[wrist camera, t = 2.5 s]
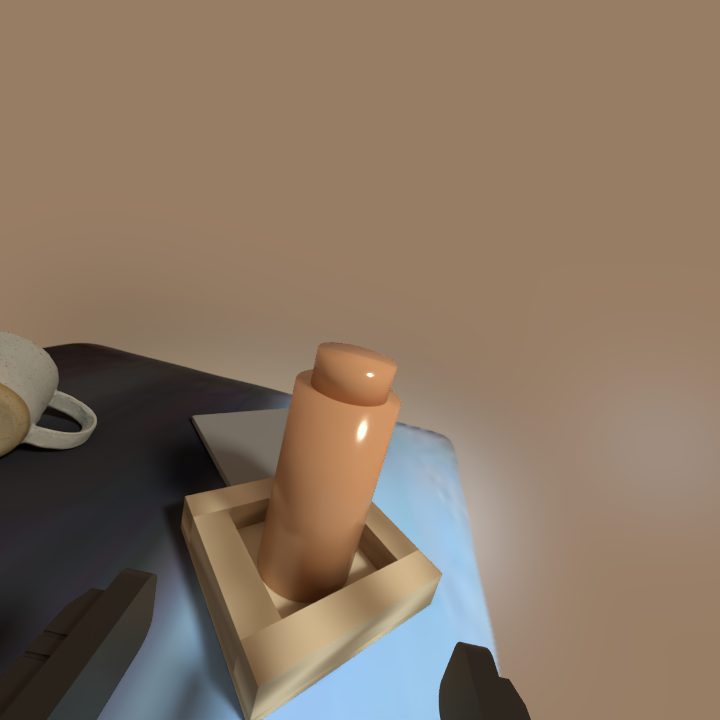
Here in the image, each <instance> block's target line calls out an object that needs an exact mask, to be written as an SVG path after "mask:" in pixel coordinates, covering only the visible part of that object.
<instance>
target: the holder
mask: <svg viewBox="0 0 720 720" xmlns="http://www.w3.org/2000/svg"><path fill="white" fill-rule="evenodd" d="M273 482H274V477H272V478H268V479H263V480H258V481H254V482H249V483H244V484H240V485H235V486H230V487H226V488H221V489H216V490H212V491H207V492H202V493H198V494H193V495H188V496H185V501H184V508H183V515H182V523H181V530H182V533H183V536H184V539H185V542H186V545H187V548H188V551H189V554H190V557H191V560H192V563H193V566H194V569H195V572H196V575H197V578H198V581H199V584H200V587H201V590H202V593H203V596H204V599H205V602H206V604H207V607H208V610H209V613H210V616H211V619H212V622H213V625H214V628H215V631H216V634H217V637H218V640H219V643H220V646H221V649H222V652H223V655H224V658H225V661H226V664H227V667H228V670H229V673H230V676H231V679H232V682H233V685H234V688H235V691H236V694H237V697H238V700H239V703H240V706H241V709H242V712H243V715H244V718H245V720H262V719H264V718H265V717H266V716H268V715H269V714H271V713H272V712H274V711H275V710H277V709H278V708H280V707H281V706H283V705H284V704H285V703H287V702H288V701H290V700H291V699H293V698H294V697H296V696H297V695H299V694H300V693H302V692H303V691H304V690H306V689H307V688H309V687H310V686H312V685H313V684H315V683H316V682H318V681H319V680H320V679H322V678H323V677H325V676H326V675H328V674H329V673H331V672H332V671H334V670H335V669H337V668H338V667H339V666H341V665H342V664H344V663H345V662H347V661H348V660H350V659H351V658H353V657H354V656H355V655H357V654H358V653H360V652H361V651H363V650H364V649H366V648H367V647H369V646H370V645H372V644H373V643H374V642H376V641H377V640H379V639H380V638H382V637H383V636H385V635H386V634H388V633H389V632H390V631H392V630H393V629H395V628H396V627H398V626H399V625H401V624H402V623H404V622H405V621H407V620H408V619H409V618H411V617H412V616H414V615H415V614H417V613H418V612H420V611H421V610H423V609H424V608H426V607H427V606H428V605H430V604H431V602H432V599H433V596H434V594H435V591H436V589H437V586H438V584H439V581H440V578H441V576H442V573H441V572H440V571H439V570H438V569H437V568H436V566H435V565H434V564H433V563H432V562H431V561H430V560H429V559H428V558H427V557H426V556H425V555H424V554H423V553H422V552H421V551H420V550H419V549H418V548H417V547H416V546H415V545H414V544H413V543H412V542H411V541H410V540H409V539H408V538H407V537H406V536H405V535H404V534H403V533H402V532H401V531H400V530H399V528H398V527H397V526H396V525H395V524H394V523H393V522H392V521H391V520H390V519H389V518H388V517H387V516H386V515H385V514H384V513H383V512H382V511H381V510H380V509H379V508H378V507H377V506H376V505H375V504H374V503H373V502H371V505H370V508H369V511H368V515H367V518H366V521H365V525H364V528H363V531H362V534H361V538H360V541H359V544H358V547H357V551H356V554H355V557H354V561H353V564H352V567H351V570H350V574H349V577H348V580H347V582H346V584H345V585H344V587H343V588H342V589H341V590H339V591H337V592H335V593H333V594H331V595H329V596H327V597H325V598H323V599H321V600H319V601H317V602H315V603H300V602H294V601H291V600H288V599H286V598H283V597H281V596H280V595H278V594H276V593H275V592H274V591H272V590H271V589H270V588H269V587H268V586H267V585H266V583H265V582H264V580H263V579H262V577H261V575H260V572H259V570H258V564H257V557H258V551H259V546H260V542H261V537H262V533H263V528H264V523H265V519H266V514H267V509H268V505H269V500H270V496H271V491H272V486H273Z"/></svg>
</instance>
